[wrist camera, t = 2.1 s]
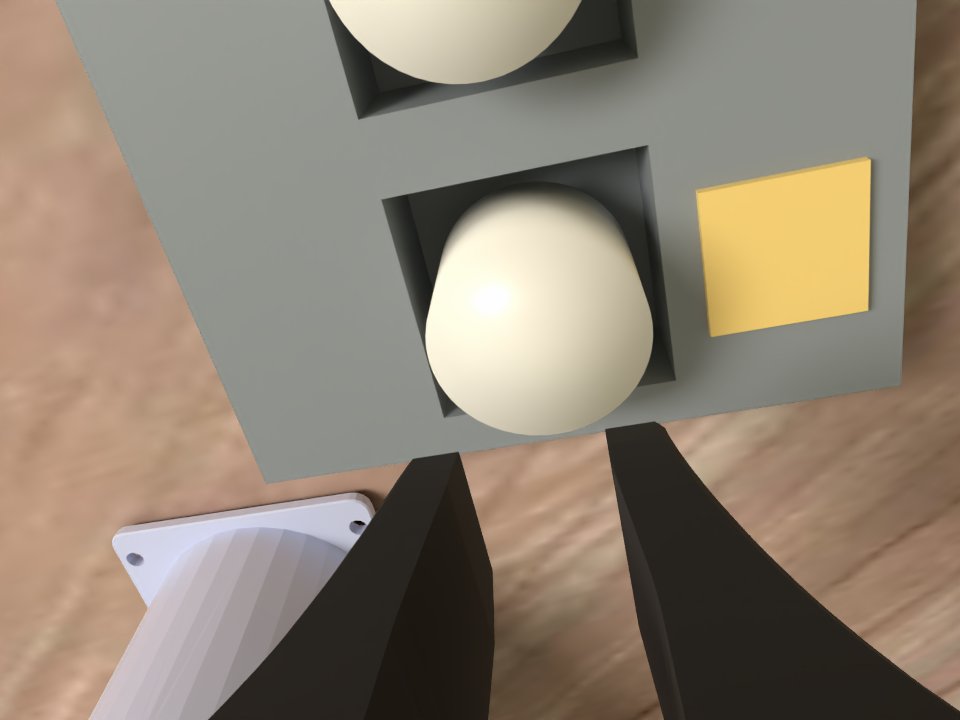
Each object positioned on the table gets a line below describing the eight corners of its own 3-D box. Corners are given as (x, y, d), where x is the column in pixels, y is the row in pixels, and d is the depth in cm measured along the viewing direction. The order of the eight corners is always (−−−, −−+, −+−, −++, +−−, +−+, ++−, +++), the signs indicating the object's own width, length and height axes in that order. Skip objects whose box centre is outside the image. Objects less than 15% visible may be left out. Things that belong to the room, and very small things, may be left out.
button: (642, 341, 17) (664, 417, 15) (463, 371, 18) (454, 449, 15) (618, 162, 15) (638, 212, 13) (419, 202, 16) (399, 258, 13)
